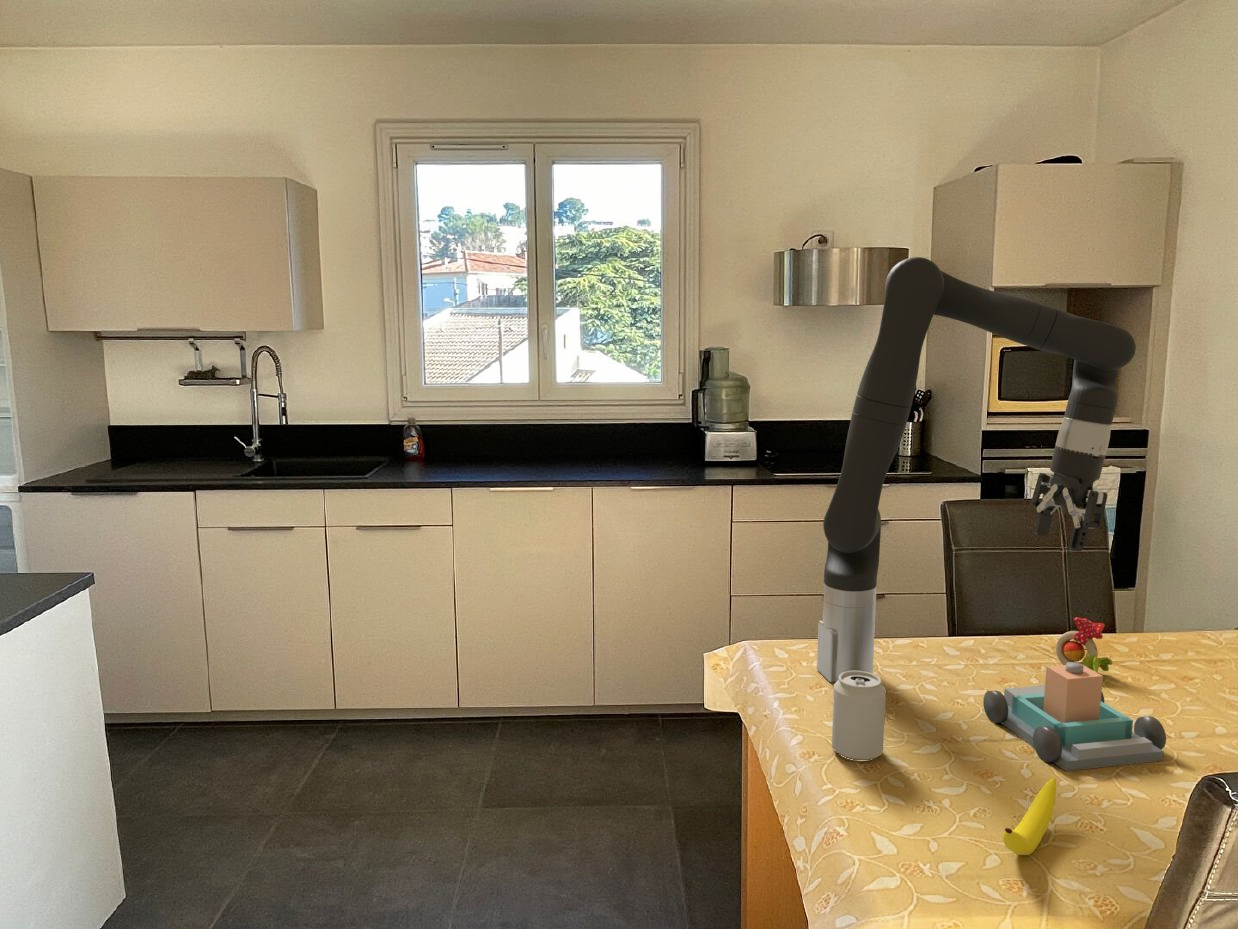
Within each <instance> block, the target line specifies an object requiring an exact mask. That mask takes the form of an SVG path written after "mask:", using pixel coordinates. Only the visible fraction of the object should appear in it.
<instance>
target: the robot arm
mask: <svg viewBox="0 0 1238 929" xmlns="http://www.w3.org/2000/svg"><path fill="white" fill-rule="evenodd" d="M884 290H885V291H884V300H883V309H882V314H881V321H880V326H879V330H878V335H877V339H876V342H875V344H874V346H873V349H872V352H871V354H870V357H869V359H868V361H867V364H866V366H865V369H864V371H863V374H862V377H861V380H860V383H859V386H858V389H857V392H856V397H855V400H854V405H853V407H852V412H851V417H850V422H849V428H848V430H847V438H846V442H845V449H844V453H843V454H844V456H843V462H842V466H841V470H840V471H841V472H840V475H839V478H838V481H837V485H836V486H835V489H834V492H833V495H832V497H831V498H832V499H831V500H830V503H829V506H828V508H827V511H826V512H825V515H824V518H823V522H822V523H823V524H822V525H823V527H822V529H823V532H824V535H825V536H824V537H825V538H826V540H827V553H826V561H825V565H824V571H823V572H824V573H823V599H822V600H823V606H822V620H819V621H818V622H817V623H818V624H817V654H816V655H817V656H816V658H817V660H816V670H817V671H818V672H819V673H820V674H821V675H822V676H823V677H824V678H825V679H826V680H827V681H828V682H830V683H836V682H837V681H838V680H839V678H838V676H839V675H840V674H841V673H843V672H847V671H864V672H869V673H872V674H874V673H873V672H874V656H875V655H874V653H875V652H874V651H875V629H876V628H875V627H876V626H875V625H876V609H877V608H876V606H877V604H876V603H877V583H878V581H877V580H878V573H879V565H880V549H881V537H882V536H881V533H882V532H881V531H882V518H881V513H880V509H879V505H880V499H881V494H882V490H883V486H884V482H885V480H886V476H887V473H888V471H889V469H890V466H891V464H892V462H893V460H894V459H895V456H896V454H897V451H898V449H899V446H900V444H901V441H902V438H903V436H904V434H905V430H906V427H907V424H908V420H909V416H910V412H911V409H912V406H913V400H914V396H915V391H916V387H917V383H918V382H917V380H918V377H919V376H918V375H919V368H920V360H921V354H922V350H923V346H924V341H925V338H926V336H927V333H928V330H929V327H930V325H931V323H932V320H933V316H938V317H944V318H949V319H950V320H955V321H959V322H961V323H964V324H968V325H971V326H974V327H977V328H979V329H981V330H984V331H986V332H988V333H991V334H993V335H996V336H998V337H1001V338H1003V339H1006V340H1009V341H1011V342H1014V343H1018V344H1021V345H1023V346H1027V347H1029V348H1032V349H1035V350H1038V351H1042V352H1046V353H1051V354H1057V355H1061V356H1064V357H1066V358H1070V359H1072V360H1074V361H1073V369H1072V380H1071V382H1072V383H1071V390H1070V393H1069V396H1068V400H1067V404H1066V407H1065V412H1064V416H1063V420H1062V422H1061V425H1060V428H1059V430H1058V433H1057V437H1056V442H1055V446H1054V450H1053V454H1052V459H1051V463H1050V466H1049V470H1050V472H1052V473H1043V472H1039V474H1038V477H1037V479H1036V483H1035V487H1034V489H1033V493H1032V498H1031V501H1030V505H1031V506H1032V507H1035V508H1036V512H1037V517H1036V522H1035V525H1034V534H1035V535H1037V536H1043V537H1046V536H1048V535H1049V533H1050V528H1051V524H1052V520H1053V513H1054V512H1055V511H1056V510H1057V509H1059V508H1060V507H1061V508H1064V509H1066V510H1068V514H1069V515H1070V516H1071V518H1072V521H1073V525H1074V526H1073V527H1072V530H1071V533H1070V537H1069V541H1068V546H1067V549H1068V550H1070V551H1072V552H1073V551H1074V552H1082V551H1083V549H1084V548H1085V545H1086V541H1087V538H1088V533H1089V531H1090V530H1096V529H1097V530H1099V529H1101V528H1102V524H1103V519H1104V516H1105V510H1106V505H1107V500H1108V492H1106V491H1101V490H1099V491H1098V490H1094V483H1095V482H1096V481H1099V480H1100V478H1101V475H1102V472H1103V466H1104V463H1105V459H1106V454H1107V452H1108V448H1109V445H1110V444H1109V443H1110V439H1111V430H1112V424H1113V421H1114V417H1115V414H1116V408H1117V404H1118V392H1117V390H1116V383H1117V378H1118V374H1119V370H1120V369H1121V368H1124V367H1125V366H1126V365H1128V364H1129V363H1130V362H1131V361H1132V360H1133V359H1134V357H1135V354H1136V350H1137V346H1136V341H1135V338H1134V337H1133V336H1132V334H1131V333H1130V332H1129V331H1128V330H1126V329H1125V328H1123V327H1121V326H1118V325H1115V324H1111V323H1107V322H1105V321H1099V320H1095V319H1091V318H1087V317H1083V316H1078V315H1074V314H1072V313H1070V312H1068V311H1065V310H1064V309H1063V310H1062V309H1059V308H1057V307H1054V306H1051V305H1047V304H1044V303H1041V302H1038V301H1035V300H1031V299H1027V298H1024V297H1020V296H1016V295H1012V294H1008V293H1003V292H998V291H995V290H991V289H988V288H985V287H984V288H983V287H980V286H977V285H974V284H971V283H968V282H966V281H963V280H961V279H959V278H956V277H954V276H952V275H950V274H948V273H946V272H944V271H943V270H941V269H940V267H939V266H938V265H937V264H936V263H935V262H934V261H932V260H930V259H928V258H927V257H921V256H915V257H914V256H913V257H908V258H905V259H903V260H900V261H899V262H897V263H896V264H895V265H894V266H892V268H891V270H890V271H889V272H888V274H887V277H886V279H885V283H884ZM1041 495H1042V498H1040V497H1041ZM1094 514H1095V515H1094ZM1093 515H1094V516H1093ZM1093 517H1094V520H1093Z"/></svg>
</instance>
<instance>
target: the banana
mask: <svg viewBox="0 0 1238 929" xmlns="http://www.w3.org/2000/svg"><path fill="white" fill-rule="evenodd" d="M1056 796H1057V777H1055V776H1053V777H1051V779H1048V781H1047V782H1046V783H1045V784H1044V785H1043V786H1042V788H1041V789H1040V790H1039V791H1038V793H1037V795H1036V796H1035V798H1034V799H1033V801H1032V803H1031V805H1030V806H1029V808H1028V809H1027V811H1026V813H1025V814H1024V816H1023V817H1022V819H1021V820H1020V822H1019V823H1018V825H1017V826H1016V827H1015V828H1014V829H1011V828H1008V827H1005V828H1004V831H1003V833H1002V839H1003V842H1004V846H1005V847H1006V849H1008V850H1010V851H1011V852H1013V853H1014V854H1015V855H1017V856H1030V855H1031V854H1033V853H1034V852H1035V850H1036V849H1037V847H1038V846H1039V844H1040V842H1041V840H1042V839H1043V837H1044V835H1045V833H1046V830H1047V828H1048V827H1049V824H1050V822H1051V820H1052V817H1053V814H1054V812H1055V811H1054V810H1055V806H1056V798H1057V797H1056Z"/></svg>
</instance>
